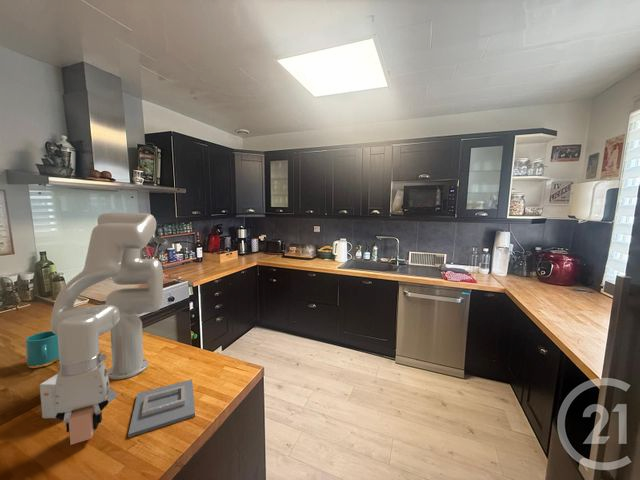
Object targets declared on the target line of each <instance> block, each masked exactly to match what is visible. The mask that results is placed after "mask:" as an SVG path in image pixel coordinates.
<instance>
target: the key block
mask: <svg viewBox="0 0 640 480" xmlns="http://www.w3.org/2000/svg"><path fill="white" fill-rule="evenodd" d="M93 415H94V410H93V407H92V405H91V406H87V407H84V408H80V409H76V410H73V412H72V413H71V415H70V417H69V432H70V436H69V441H70V443H69V444H70V446H72V445H75V444H78V443H81V442H85V441H88V440H91V439H93V435H94V432H95V431H96V429H93ZM69 432H68V433H69Z"/></svg>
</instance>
